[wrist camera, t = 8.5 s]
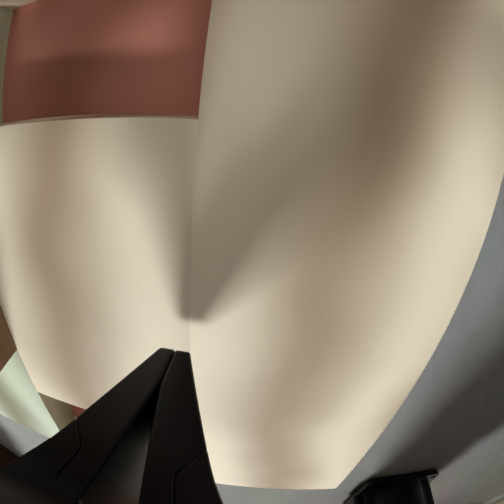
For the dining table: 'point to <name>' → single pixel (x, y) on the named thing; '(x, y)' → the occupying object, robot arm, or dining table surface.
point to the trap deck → (244, 210)
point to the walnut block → (5, 342)
